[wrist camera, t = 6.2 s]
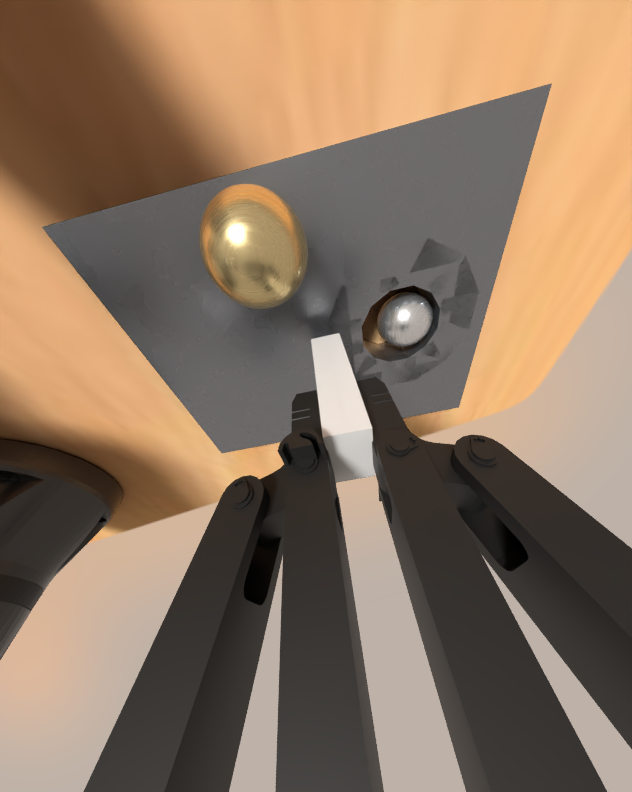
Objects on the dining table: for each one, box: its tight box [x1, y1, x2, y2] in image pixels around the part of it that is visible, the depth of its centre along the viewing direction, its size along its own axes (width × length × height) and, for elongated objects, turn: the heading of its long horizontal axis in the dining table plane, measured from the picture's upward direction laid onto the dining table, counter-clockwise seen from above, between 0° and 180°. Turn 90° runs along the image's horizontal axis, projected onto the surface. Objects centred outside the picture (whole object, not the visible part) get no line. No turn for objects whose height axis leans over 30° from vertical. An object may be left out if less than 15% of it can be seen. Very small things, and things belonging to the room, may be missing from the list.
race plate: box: [42, 84, 551, 453], centre depth 15 cm, size 20×16×2 cm
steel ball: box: [377, 292, 433, 347], centre depth 14 cm, size 3×3×3 cm
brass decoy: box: [199, 184, 308, 309], centre depth 9 cm, size 4×4×4 cm
